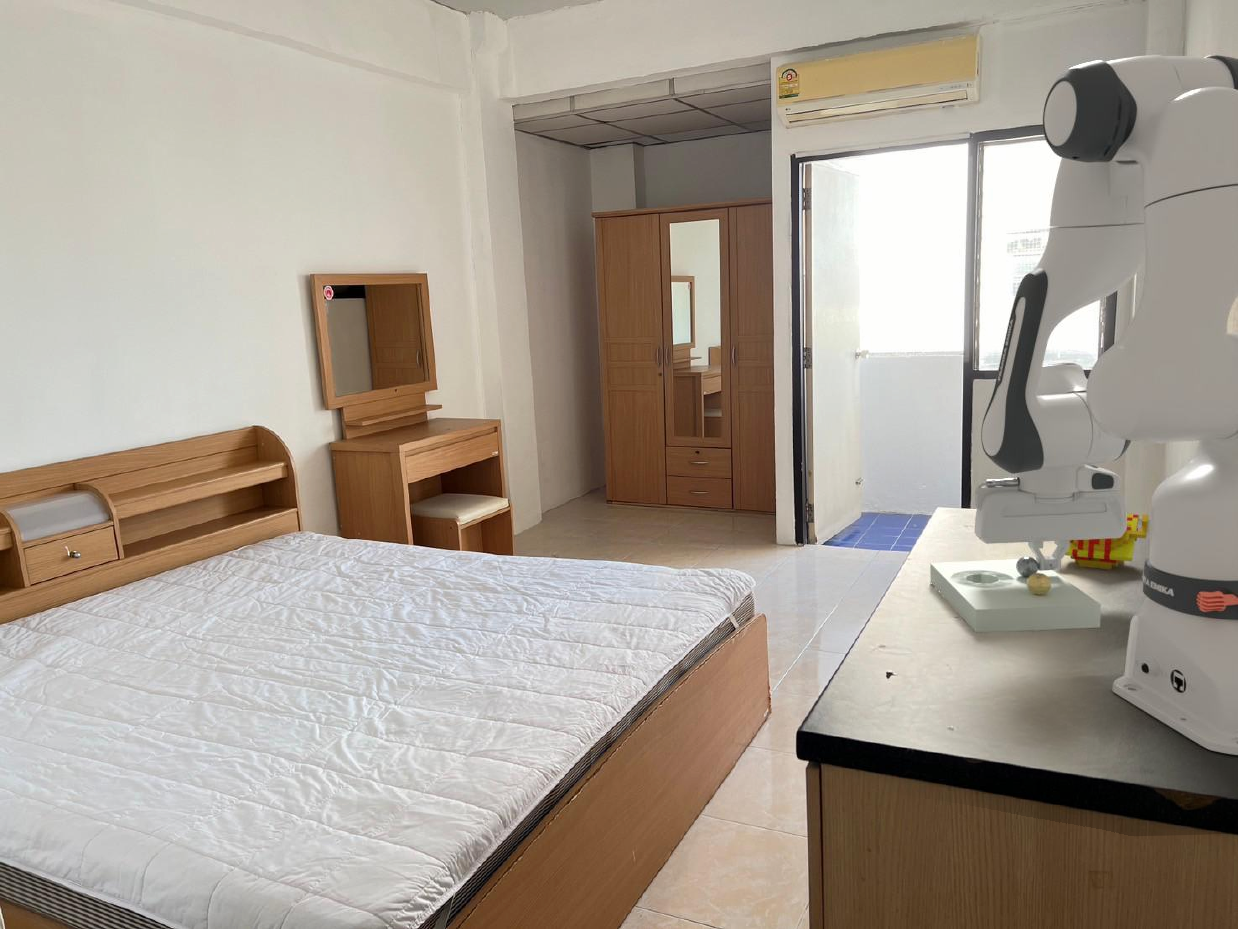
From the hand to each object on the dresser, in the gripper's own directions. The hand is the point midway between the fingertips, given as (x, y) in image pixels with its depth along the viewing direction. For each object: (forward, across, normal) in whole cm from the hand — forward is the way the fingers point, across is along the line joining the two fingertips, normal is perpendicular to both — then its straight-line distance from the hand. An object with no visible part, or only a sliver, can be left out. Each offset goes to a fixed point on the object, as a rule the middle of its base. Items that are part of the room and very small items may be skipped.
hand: (1048, 569), depth 132 cm
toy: (+4, +13, +15) cm, 21 cm away
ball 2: (-1, -4, -8) cm, 9 cm away
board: (+4, -6, -2) cm, 8 cm away
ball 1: (-1, -3, 0) cm, 3 cm away
